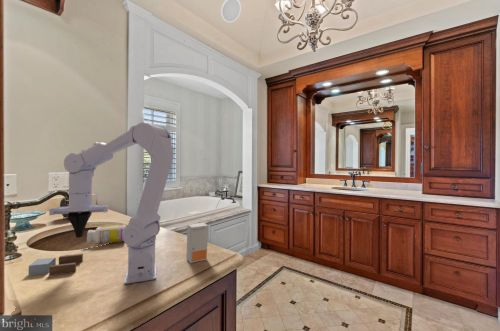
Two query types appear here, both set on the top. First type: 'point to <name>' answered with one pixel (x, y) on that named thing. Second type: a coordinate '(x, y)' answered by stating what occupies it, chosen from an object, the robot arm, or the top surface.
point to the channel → (66, 264)
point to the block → (41, 266)
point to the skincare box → (197, 242)
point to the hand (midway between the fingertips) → (79, 236)
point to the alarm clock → (62, 204)
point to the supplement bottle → (106, 234)
